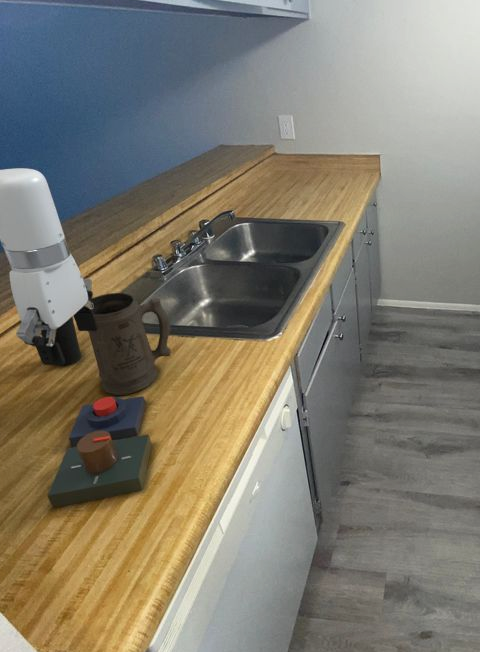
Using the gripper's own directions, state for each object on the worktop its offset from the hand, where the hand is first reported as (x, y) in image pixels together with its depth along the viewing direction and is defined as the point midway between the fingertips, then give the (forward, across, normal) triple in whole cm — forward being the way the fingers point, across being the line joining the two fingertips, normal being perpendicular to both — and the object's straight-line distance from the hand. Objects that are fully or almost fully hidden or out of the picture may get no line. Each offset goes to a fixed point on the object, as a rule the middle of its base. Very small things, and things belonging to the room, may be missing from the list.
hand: (72, 346), depth 79 cm
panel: (+21, +8, +4) cm, 23 cm away
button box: (+21, -4, -1) cm, 22 cm away
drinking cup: (+21, -24, -21) cm, 38 cm away
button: (+18, -4, -1) cm, 18 cm away
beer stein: (+22, -19, -2) cm, 29 cm away
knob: (+18, +8, +4) cm, 21 cm away
